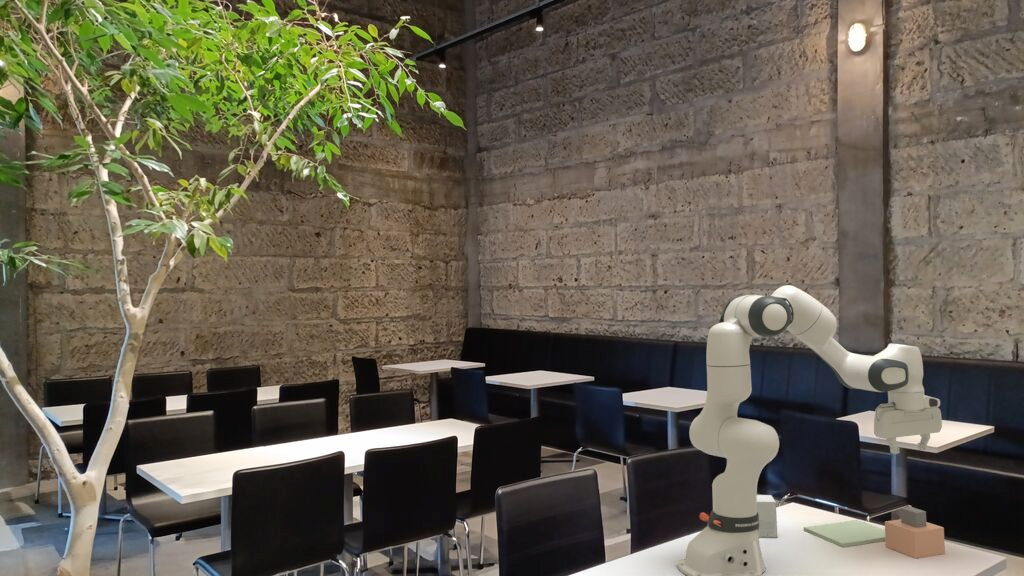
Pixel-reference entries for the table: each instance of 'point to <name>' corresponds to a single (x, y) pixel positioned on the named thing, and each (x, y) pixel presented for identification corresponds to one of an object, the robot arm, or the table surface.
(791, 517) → the table surface
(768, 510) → the small box
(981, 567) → the table surface
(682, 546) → the table surface
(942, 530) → the peach base with post
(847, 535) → the sage board
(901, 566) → the table surface
